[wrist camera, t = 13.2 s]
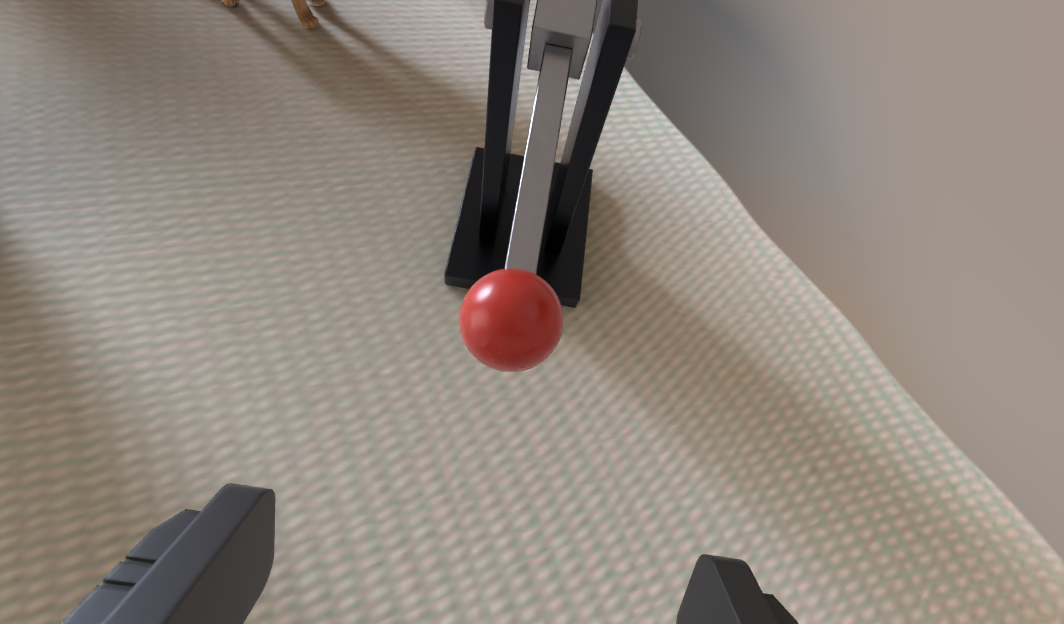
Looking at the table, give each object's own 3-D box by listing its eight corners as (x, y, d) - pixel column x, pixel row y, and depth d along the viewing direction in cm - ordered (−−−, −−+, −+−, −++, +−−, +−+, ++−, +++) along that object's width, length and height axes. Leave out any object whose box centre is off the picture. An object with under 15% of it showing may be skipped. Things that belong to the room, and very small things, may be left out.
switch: (547, 381, 19) (562, 377, 15) (453, 366, 19) (446, 358, 15) (601, 35, 22) (623, -35, 18) (520, 18, 22) (527, -57, 18)
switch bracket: (575, 308, 30) (678, 94, 16) (444, 284, 30) (431, 43, 16) (588, 180, 35) (678, -74, 20) (474, 158, 34) (486, -119, 20)
